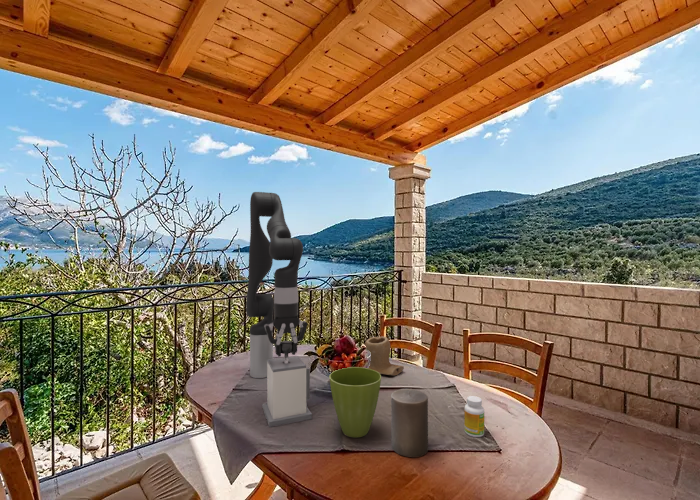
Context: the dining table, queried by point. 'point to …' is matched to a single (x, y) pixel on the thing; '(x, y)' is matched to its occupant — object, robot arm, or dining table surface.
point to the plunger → (286, 349)
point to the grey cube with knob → (287, 391)
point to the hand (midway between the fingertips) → (286, 354)
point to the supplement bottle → (474, 417)
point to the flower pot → (355, 398)
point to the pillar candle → (409, 422)
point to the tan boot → (381, 356)
